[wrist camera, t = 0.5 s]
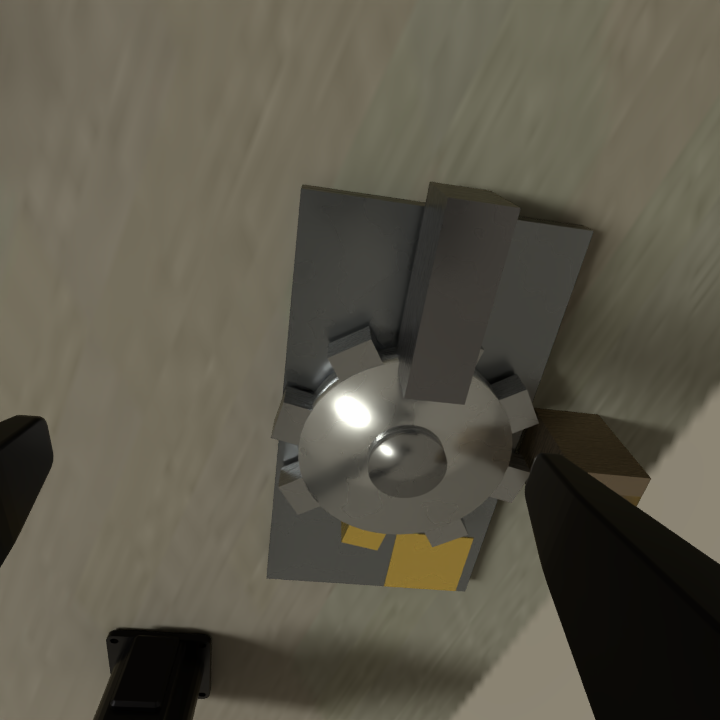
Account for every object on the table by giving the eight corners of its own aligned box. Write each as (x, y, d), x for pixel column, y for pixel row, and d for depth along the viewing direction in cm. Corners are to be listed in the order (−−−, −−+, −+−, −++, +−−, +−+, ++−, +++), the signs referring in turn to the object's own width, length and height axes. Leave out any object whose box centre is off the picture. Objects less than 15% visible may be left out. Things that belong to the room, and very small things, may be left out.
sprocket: (490, 538, 28) (511, 598, 25) (266, 521, 27) (256, 581, 23) (611, 208, 20) (667, 230, 16) (295, 160, 19) (286, 173, 15)
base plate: (461, 577, 31) (465, 592, 30) (268, 564, 30) (266, 579, 29) (583, 225, 21) (594, 231, 20) (302, 184, 20) (301, 188, 19)
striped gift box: (575, 467, 28) (620, 536, 23) (514, 461, 27) (548, 531, 23) (597, 414, 26) (651, 478, 22) (533, 407, 26) (574, 471, 21)
